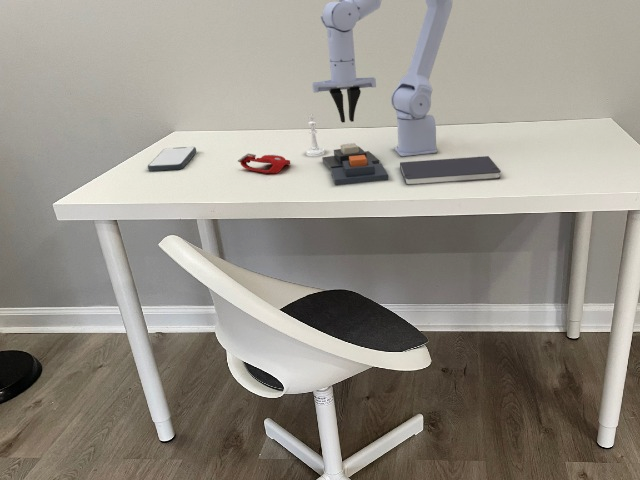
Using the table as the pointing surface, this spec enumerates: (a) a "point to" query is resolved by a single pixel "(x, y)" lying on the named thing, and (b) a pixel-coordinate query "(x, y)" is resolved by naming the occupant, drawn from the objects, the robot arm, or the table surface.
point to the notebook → (449, 170)
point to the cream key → (349, 148)
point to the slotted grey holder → (358, 173)
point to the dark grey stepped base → (345, 158)
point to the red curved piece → (273, 159)
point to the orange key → (357, 160)
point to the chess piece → (314, 140)
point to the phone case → (172, 159)
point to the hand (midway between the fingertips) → (347, 121)
